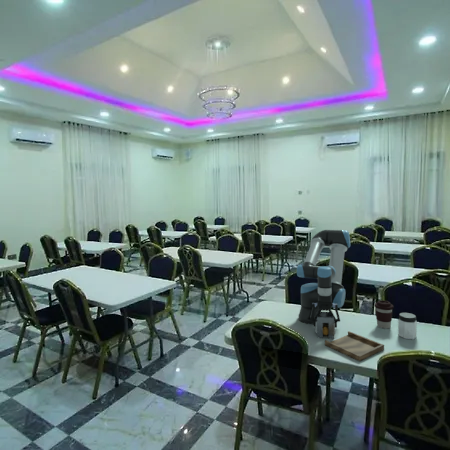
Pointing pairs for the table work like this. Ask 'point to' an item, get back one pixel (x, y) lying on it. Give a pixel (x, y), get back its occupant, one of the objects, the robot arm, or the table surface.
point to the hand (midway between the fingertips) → (325, 332)
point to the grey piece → (325, 324)
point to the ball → (325, 331)
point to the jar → (407, 325)
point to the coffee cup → (384, 314)
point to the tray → (355, 346)
